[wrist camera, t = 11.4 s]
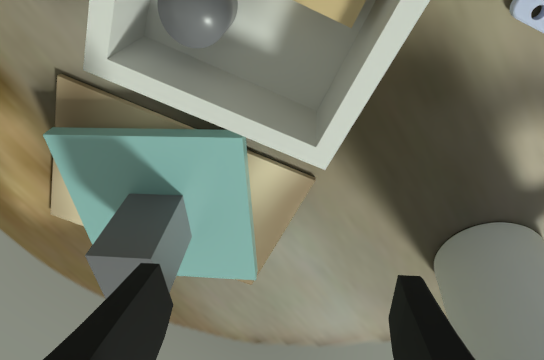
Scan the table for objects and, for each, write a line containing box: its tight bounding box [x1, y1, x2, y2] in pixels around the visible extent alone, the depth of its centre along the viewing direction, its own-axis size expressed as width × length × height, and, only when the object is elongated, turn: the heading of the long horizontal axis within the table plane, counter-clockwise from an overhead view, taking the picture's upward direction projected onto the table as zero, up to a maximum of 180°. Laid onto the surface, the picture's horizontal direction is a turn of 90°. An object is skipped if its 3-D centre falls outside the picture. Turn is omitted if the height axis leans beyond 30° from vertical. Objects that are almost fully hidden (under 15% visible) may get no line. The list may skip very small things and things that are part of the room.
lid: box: [43, 127, 258, 299], centre depth 19 cm, size 10×10×6 cm
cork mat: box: [51, 74, 315, 285], centre depth 22 cm, size 14×10×1 cm
